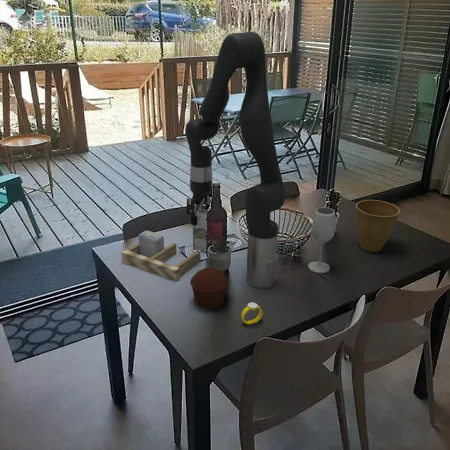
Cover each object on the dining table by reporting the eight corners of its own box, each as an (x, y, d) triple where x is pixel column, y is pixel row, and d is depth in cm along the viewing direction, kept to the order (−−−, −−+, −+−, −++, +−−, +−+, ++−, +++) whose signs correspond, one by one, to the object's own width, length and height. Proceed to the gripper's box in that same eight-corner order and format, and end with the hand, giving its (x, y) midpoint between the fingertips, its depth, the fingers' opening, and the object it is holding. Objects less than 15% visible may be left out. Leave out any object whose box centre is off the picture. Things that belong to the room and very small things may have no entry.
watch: (258, 318, 139) (260, 300, 137) (262, 323, 137) (265, 305, 134) (239, 321, 137) (241, 303, 134) (243, 327, 134) (245, 309, 132)
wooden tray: (202, 261, 167) (201, 251, 165) (176, 281, 156) (175, 270, 154) (150, 244, 178) (149, 235, 176) (122, 262, 166) (121, 252, 164)
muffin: (204, 285, 154) (204, 258, 149) (235, 295, 149) (235, 267, 144) (183, 304, 144) (182, 275, 140) (214, 315, 139) (215, 286, 135)
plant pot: (376, 261, 169) (383, 219, 162) (342, 245, 179) (347, 205, 172) (400, 249, 177) (408, 209, 170) (366, 234, 188) (372, 196, 181)
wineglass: (334, 267, 165) (341, 210, 156) (322, 275, 160) (329, 217, 151) (315, 259, 170) (321, 204, 161) (303, 267, 165) (308, 210, 155)
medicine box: (165, 257, 170) (164, 235, 166) (157, 262, 166) (155, 240, 162) (147, 251, 173) (146, 229, 170) (139, 256, 170) (137, 234, 166)
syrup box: (210, 245, 178) (210, 208, 172) (208, 252, 173) (208, 215, 167) (195, 244, 179) (194, 208, 173) (192, 251, 173) (192, 214, 167)
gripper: (198, 186, 157) (198, 230, 164) (221, 173, 168) (220, 216, 175) (179, 181, 160) (180, 225, 167) (203, 169, 171) (203, 211, 178)
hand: (200, 220), depth 171 cm, fingers open, 8 cm apart
